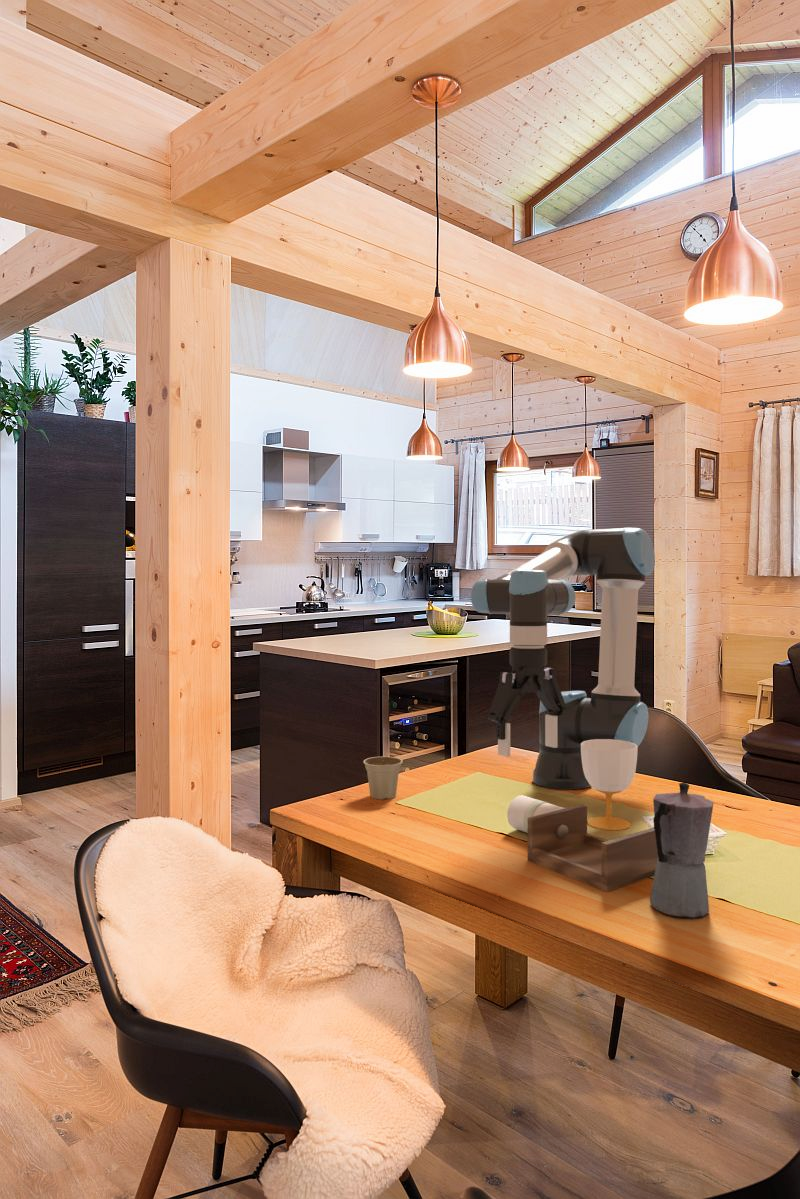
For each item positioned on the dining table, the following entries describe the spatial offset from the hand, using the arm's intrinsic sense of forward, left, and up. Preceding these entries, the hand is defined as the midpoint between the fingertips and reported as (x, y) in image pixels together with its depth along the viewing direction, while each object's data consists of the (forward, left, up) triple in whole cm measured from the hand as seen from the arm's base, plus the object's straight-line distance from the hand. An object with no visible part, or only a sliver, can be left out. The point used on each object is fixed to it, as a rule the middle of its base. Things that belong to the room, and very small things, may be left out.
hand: (528, 751), depth 166 cm
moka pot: (+7, +40, -18) cm, 45 cm away
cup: (-19, +4, -18) cm, 27 cm away
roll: (-1, +1, -17) cm, 18 cm away
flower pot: (+7, -43, -18) cm, 47 cm away
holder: (+3, +19, -17) cm, 26 cm away
